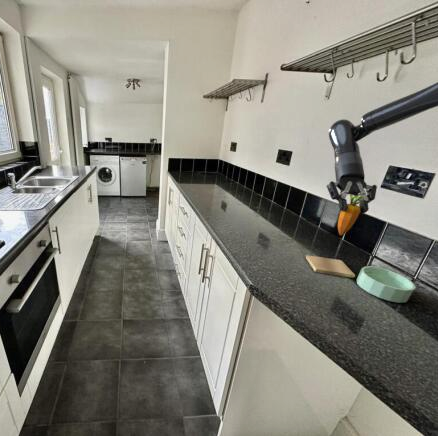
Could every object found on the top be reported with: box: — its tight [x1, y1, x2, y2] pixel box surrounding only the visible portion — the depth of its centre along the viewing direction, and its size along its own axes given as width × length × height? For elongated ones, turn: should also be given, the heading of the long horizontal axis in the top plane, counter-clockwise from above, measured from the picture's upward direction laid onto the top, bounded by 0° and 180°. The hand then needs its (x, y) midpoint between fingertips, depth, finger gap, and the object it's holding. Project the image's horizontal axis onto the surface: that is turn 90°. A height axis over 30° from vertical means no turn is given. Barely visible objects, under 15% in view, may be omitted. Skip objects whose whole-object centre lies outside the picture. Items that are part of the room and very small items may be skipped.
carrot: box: [337, 194, 363, 236], centre depth 78 cm, size 5×5×15 cm
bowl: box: [356, 265, 417, 304], centre depth 74 cm, size 12×12×5 cm
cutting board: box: [305, 254, 356, 279], centre depth 86 cm, size 12×10×1 cm
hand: (354, 211), depth 76 cm, fingers closed on carrot, 5 cm apart
